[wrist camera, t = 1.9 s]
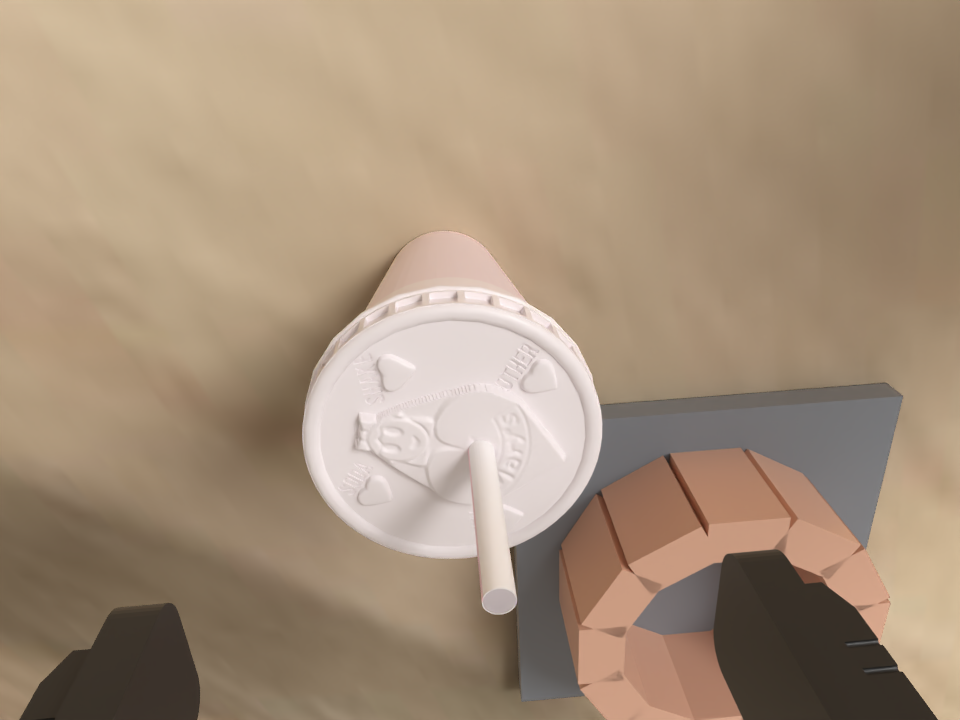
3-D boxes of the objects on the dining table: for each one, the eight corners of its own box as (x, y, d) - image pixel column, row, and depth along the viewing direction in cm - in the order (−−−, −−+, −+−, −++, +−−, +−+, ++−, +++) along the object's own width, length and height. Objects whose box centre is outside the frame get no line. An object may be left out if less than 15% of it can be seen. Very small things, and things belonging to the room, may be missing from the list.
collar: (886, 383, 26) (981, 459, 22) (824, 654, 33) (888, 757, 28) (509, 412, 26) (526, 496, 21) (519, 682, 32) (534, 791, 28)
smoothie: (518, 383, 25) (607, 748, 13) (335, 358, 24) (239, 724, 12) (560, 207, 23) (727, 449, 10) (357, 171, 22) (264, 388, 9)
